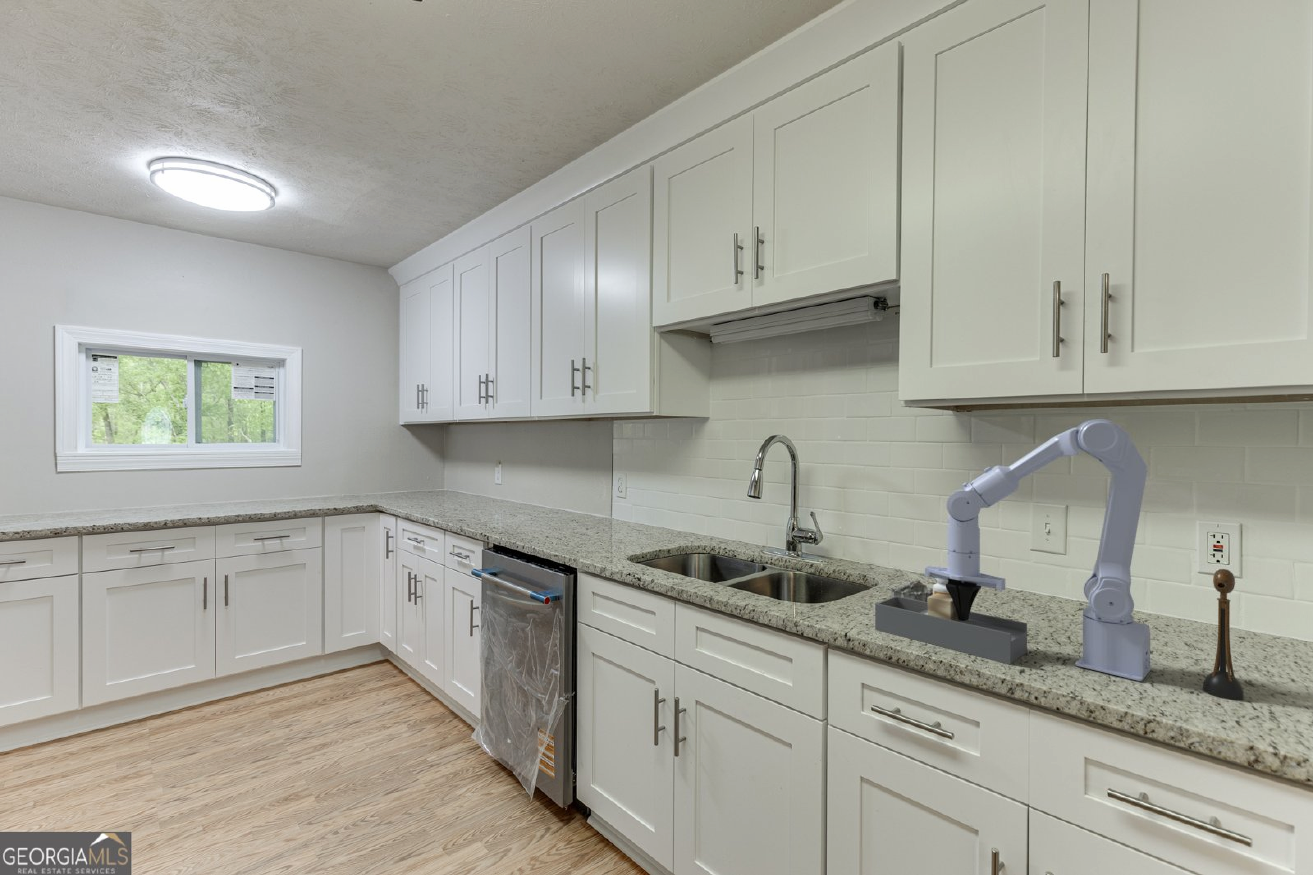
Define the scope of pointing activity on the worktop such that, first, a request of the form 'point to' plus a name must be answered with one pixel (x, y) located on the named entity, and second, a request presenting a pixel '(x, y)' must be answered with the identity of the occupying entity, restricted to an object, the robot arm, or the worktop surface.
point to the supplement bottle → (940, 587)
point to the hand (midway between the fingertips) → (963, 619)
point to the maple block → (942, 607)
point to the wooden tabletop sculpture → (1223, 644)
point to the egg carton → (913, 591)
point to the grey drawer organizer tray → (953, 630)
